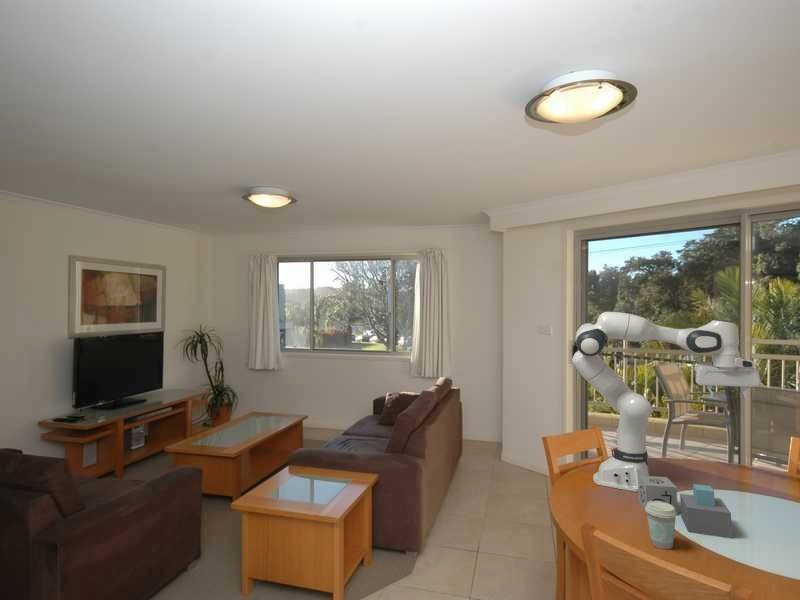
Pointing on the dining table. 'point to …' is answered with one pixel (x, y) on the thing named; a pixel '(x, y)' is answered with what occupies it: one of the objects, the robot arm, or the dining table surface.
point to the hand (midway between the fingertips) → (728, 397)
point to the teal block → (703, 495)
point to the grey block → (706, 517)
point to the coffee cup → (661, 523)
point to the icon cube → (656, 491)
